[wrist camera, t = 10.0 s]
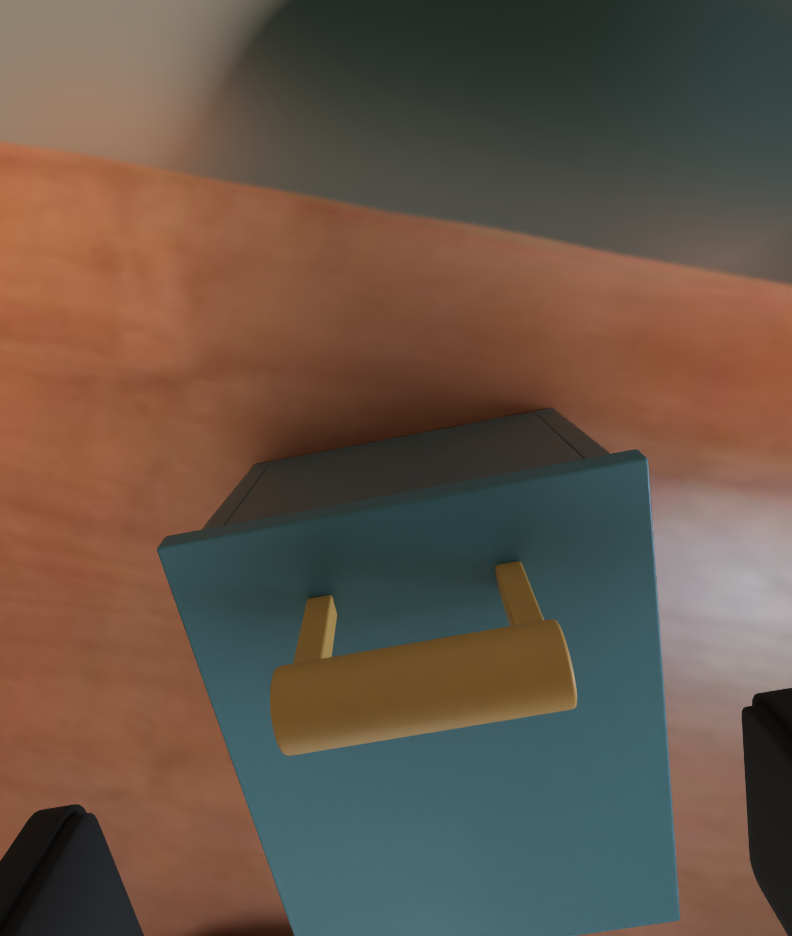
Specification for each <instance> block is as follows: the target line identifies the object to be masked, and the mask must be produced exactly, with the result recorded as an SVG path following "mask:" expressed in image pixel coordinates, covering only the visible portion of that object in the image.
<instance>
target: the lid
mask: <svg viewBox="0 0 792 936" xmlns="http://www.w3.org/2000/svg"><path fill="white" fill-rule="evenodd" d="M157 552H158V555H159V557H160V560H161V563H162V566H163V569H164V571H165V574H166V577H167V580H168V583H169V585H170V588H171V591H172V594H173V597H174V600H175V602H176V605H177V608H178V611H179V614H180V616H181V619H182V622H183V625H184V628H185V630H186V633H187V636H188V639H189V642H190V645H191V647H192V650H193V653H194V656H195V659H196V661H197V664H198V667H199V670H200V673H201V675H202V678H203V681H204V684H205V687H206V690H207V692H208V695H209V698H210V701H211V704H212V706H213V709H214V712H215V715H216V718H217V720H218V723H219V726H220V729H221V732H222V735H223V737H224V740H225V743H226V746H227V749H228V751H229V754H230V757H231V760H232V763H233V765H234V768H235V771H236V774H237V777H238V779H239V782H240V785H241V788H242V791H243V794H244V796H245V799H246V802H247V805H248V808H249V810H250V813H251V816H252V819H253V822H254V824H255V827H256V830H257V833H258V836H259V839H260V841H261V844H262V847H263V850H264V853H265V855H266V858H267V861H268V864H269V867H270V869H271V872H272V875H273V878H274V881H275V884H276V886H277V889H278V892H279V895H280V898H281V900H282V903H283V906H284V909H285V912H286V914H287V917H288V920H289V923H290V926H291V929H292V931H293V934H294V936H576V935H583V934H590V933H596V932H603V931H610V930H617V929H624V928H631V927H638V926H645V925H652V924H658V923H665V922H672V921H678V920H680V911H679V897H678V882H677V868H676V854H675V839H674V825H673V811H672V796H671V782H670V768H669V753H668V739H667V725H666V710H665V696H664V682H663V667H662V653H661V639H660V624H659V610H658V596H657V581H656V567H655V553H654V538H653V524H652V510H651V495H650V481H649V467H648V459H647V458H646V457H645V456H644V455H643V454H642V453H641V452H640V451H639V450H636V449H635V450H630V451H624V452H619V453H613V454H608V455H603V456H597V457H592V458H586V459H581V460H576V461H570V462H565V463H559V464H554V465H549V466H543V467H538V468H533V469H527V470H522V471H516V472H511V473H506V474H500V475H495V476H489V477H484V478H479V479H473V480H468V481H462V482H457V483H452V484H446V485H441V486H435V487H430V488H425V489H419V490H414V491H409V492H403V493H398V494H392V495H387V496H382V497H376V498H371V499H365V500H360V501H355V502H349V503H344V504H338V505H333V506H328V507H322V508H317V509H311V510H306V511H301V512H295V513H290V514H284V515H279V516H274V517H268V518H263V519H258V520H252V521H247V522H241V523H236V524H231V525H225V526H220V527H214V528H209V529H204V530H198V531H193V532H187V533H182V534H177V535H171V536H167V537H165V538H164V540H163V541H162V543H161V544H160V545H159V547H158V548H157Z"/></svg>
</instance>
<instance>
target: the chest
mask: <svg viewBox="0 0 792 936" xmlns="http://www.w3.org/2000/svg"><path fill="white" fill-rule="evenodd" d="M608 454H610V453H609V452H608V451H606V450H605V449H604V448H603V447H601V446H600V445H599V444H598V443H596V442H595V441H594V440H593V439H591V438H590V437H589V436H588V435H586V434H585V433H584V432H583V431H581V430H580V429H579V428H577V427H576V426H575V425H574V424H572V423H571V422H570V421H569V420H567V419H566V418H565V417H564V416H562V415H561V414H560V413H559V412H557V411H556V410H555V409H554V408H548V409H543V410H538V411H532V412H527V413H522V414H517V415H511V416H506V417H501V418H496V419H490V420H485V421H480V422H475V423H469V424H464V425H459V426H454V427H448V428H443V429H438V430H433V431H427V432H422V433H417V434H411V435H406V436H401V437H396V438H390V439H385V440H380V441H375V442H369V443H364V444H359V445H354V446H348V447H343V448H338V449H333V450H327V451H322V452H317V453H312V454H306V455H301V456H296V457H291V458H285V459H280V460H275V461H270V462H264V463H259V464H254V465H253V466H252V467H251V469H250V470H249V472H248V473H247V474H246V475H245V476H244V478H243V479H242V480H241V481H240V483H239V484H238V485H237V486H236V488H235V489H234V490H233V491H232V493H231V494H230V495H229V496H228V497H227V499H226V500H225V501H224V502H223V504H222V505H221V506H220V507H219V509H218V510H217V511H216V512H215V513H214V515H213V516H212V517H211V518H210V520H209V521H208V522H207V523H206V525H205V526H204V527H203V528H202V529H201V530H204V529H209V528H214V527H220V526H225V525H231V524H236V523H241V522H247V521H252V520H258V519H263V518H268V517H274V516H279V515H284V514H290V513H295V512H301V511H306V510H311V509H317V508H322V507H328V506H333V505H338V504H344V503H349V502H355V501H360V500H365V499H371V498H376V497H382V496H387V495H392V494H398V493H403V492H409V491H414V490H419V489H425V488H430V487H435V486H441V485H446V484H452V483H457V482H462V481H468V480H473V479H479V478H484V477H489V476H495V475H500V474H506V473H511V472H516V471H522V470H527V469H533V468H538V467H543V466H549V465H554V464H559V463H565V462H570V461H576V460H581V459H586V458H592V457H597V456H603V455H608Z"/></svg>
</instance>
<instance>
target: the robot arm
mask: <svg viewBox="0 0 792 936" xmlns="http://www.w3.org/2000/svg"><path fill="white" fill-rule="evenodd" d="M742 729H743V747H744V764H745V782H746V800H747V817H748V835H749V853H750V861H751V865H752V869H753V872H754V875H755V878H756V880H757V882H758V884H759V886H760V888H761V890H762V892H763V894H764V895H765V897H766V899H767V900H768V902H769V904H770V905H771V907H772V909H773V911H774V912H775V914H776V916H777V917H778V919H779V921H780V922H781V924H782V926H783V928H784V929H785V931H786V933H787V934H788V936H792V688H788V689H782V690H776V691H770V692H764V693H758V694H756V695H754V697H753V700H752V706H749V707H745V708H743V710H742ZM0 936H144V935H143V932H142V930H141V927H140V925H139V922H138V920H137V917H136V915H135V912H134V910H133V907H132V905H131V902H130V900H129V897H128V895H127V892H126V890H125V887H124V885H123V882H122V880H121V877H120V875H119V872H118V870H117V867H116V865H115V862H114V860H113V857H112V855H111V852H110V850H109V847H108V845H107V842H106V840H105V837H104V835H103V832H102V830H101V828H100V825H99V823H98V820H97V818H96V817H95V815H93V814H92V813H87V812H86V811H85V809H84V808H83V807H82V806H80V805H69V806H62V807H56V808H50V809H44V810H39V811H37V812H35V813H34V814H33V815H32V816H31V817H30V818H29V820H28V821H27V823H26V824H25V826H24V827H23V829H22V830H21V832H20V833H19V835H18V836H17V837H16V839H15V840H14V842H13V843H12V845H11V846H10V848H9V849H8V851H7V852H6V854H5V855H4V857H3V858H2V860H1V861H0Z"/></svg>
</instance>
